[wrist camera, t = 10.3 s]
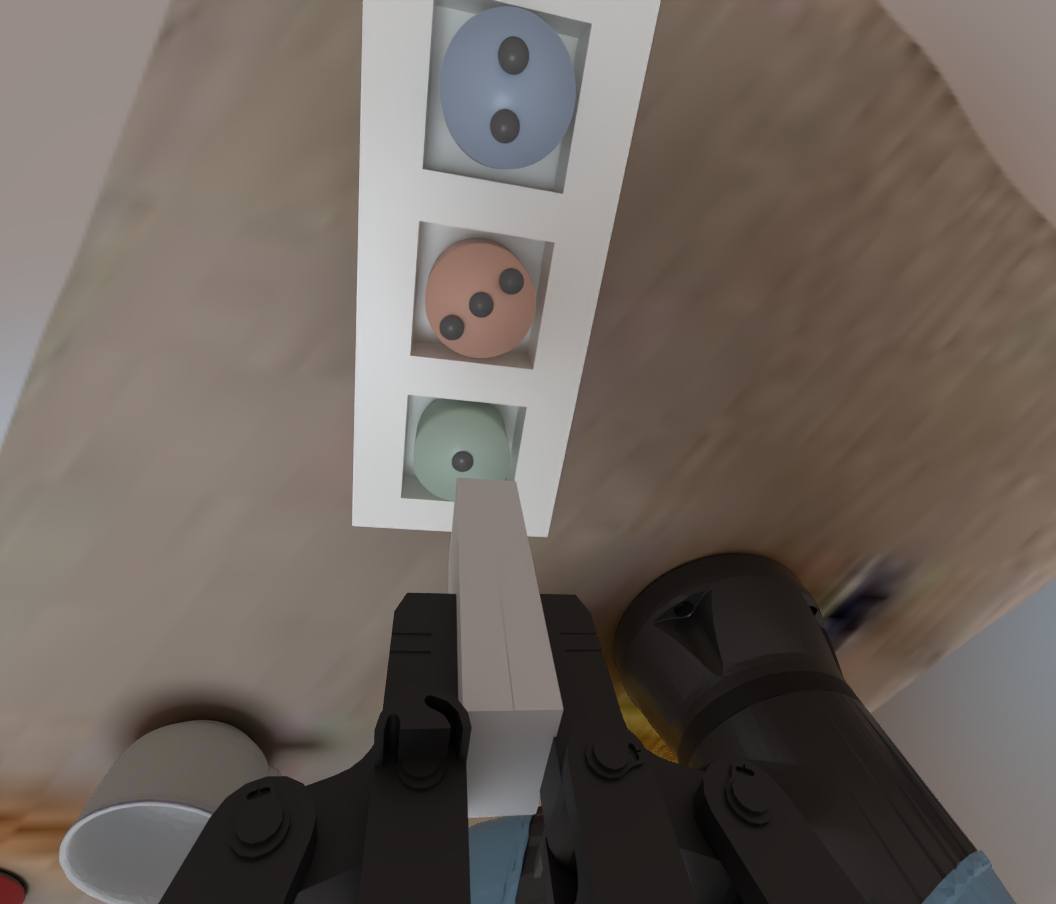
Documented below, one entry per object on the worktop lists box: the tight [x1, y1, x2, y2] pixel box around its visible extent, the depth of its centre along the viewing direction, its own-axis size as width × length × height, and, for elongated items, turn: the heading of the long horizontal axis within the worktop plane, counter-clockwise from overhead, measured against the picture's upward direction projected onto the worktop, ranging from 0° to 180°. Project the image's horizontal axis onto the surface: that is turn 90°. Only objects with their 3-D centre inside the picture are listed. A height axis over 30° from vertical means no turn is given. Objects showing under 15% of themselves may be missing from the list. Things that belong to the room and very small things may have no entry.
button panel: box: [352, 0, 661, 537], centre depth 27 cm, size 11×26×3 cm, turn 171°
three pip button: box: [425, 238, 536, 358], centre depth 26 cm, size 5×5×3 cm
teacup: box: [59, 720, 281, 904], centre depth 37 cm, size 14×11×8 cm
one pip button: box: [413, 398, 511, 502], centre depth 29 cm, size 5×5×3 cm
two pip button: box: [440, 6, 576, 169], centre depth 21 cm, size 5×5×3 cm
